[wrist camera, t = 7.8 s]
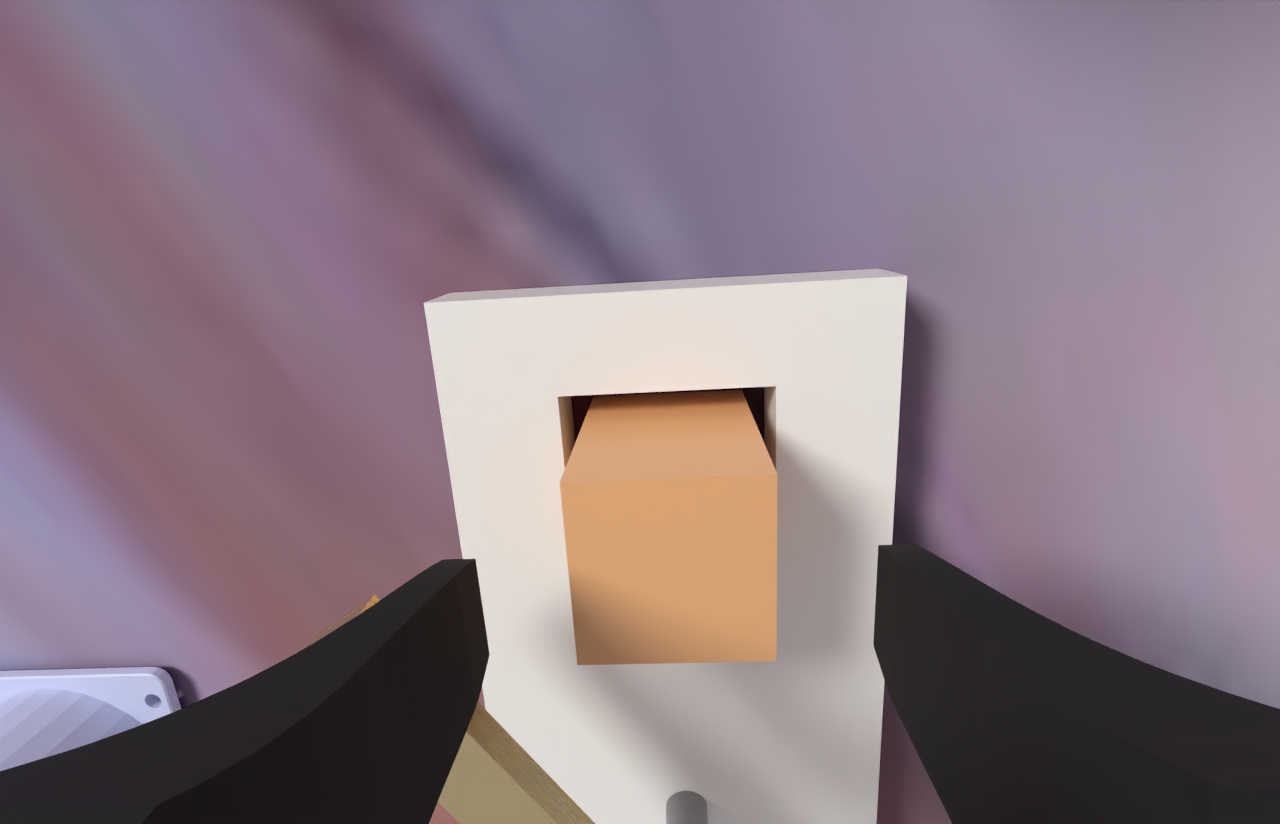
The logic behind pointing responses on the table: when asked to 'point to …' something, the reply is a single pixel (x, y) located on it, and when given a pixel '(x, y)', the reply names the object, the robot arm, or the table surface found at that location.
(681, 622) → the plug
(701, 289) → the socket block
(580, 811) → the bar
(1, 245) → the table surface
